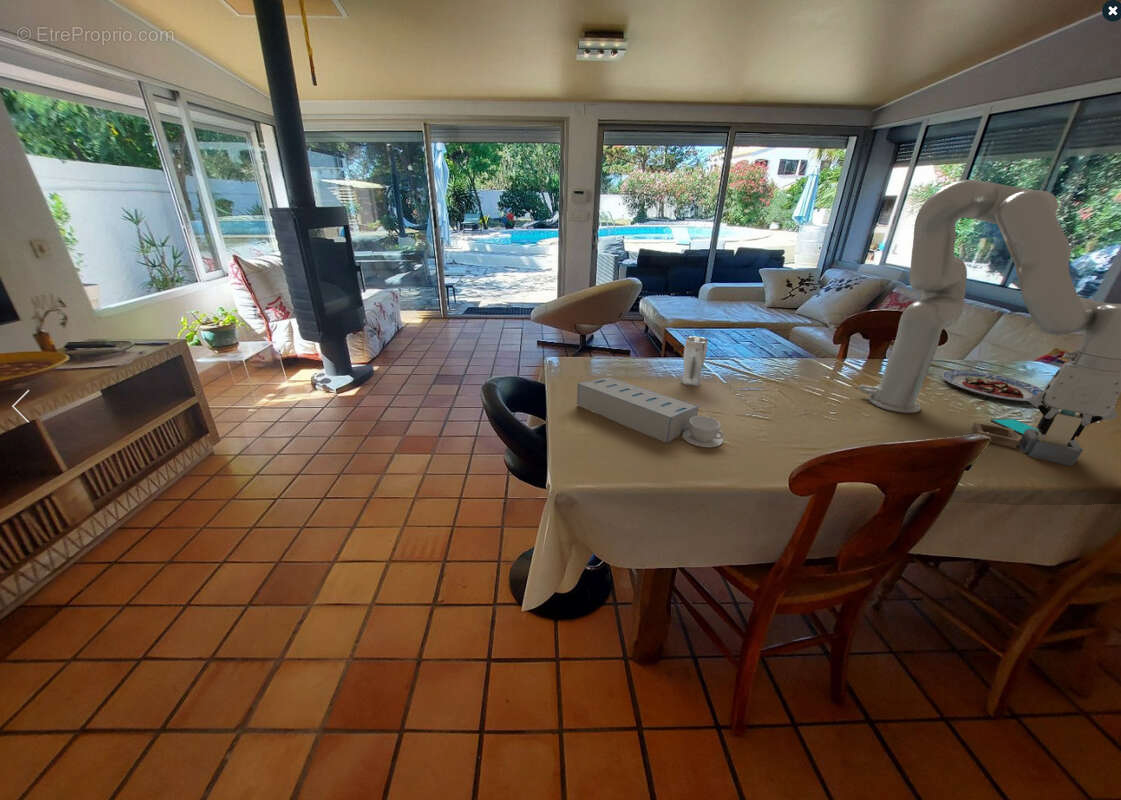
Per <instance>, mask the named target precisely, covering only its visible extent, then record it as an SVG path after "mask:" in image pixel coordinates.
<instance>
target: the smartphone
mask: <svg viewBox="0 0 1121 800" xmlns="http://www.w3.org/2000/svg"><path fill="white" fill-rule="evenodd" d="M990 422H991V423H993V424H995V425H996V426H999V427H1004V428H1009V429H1013V430H1014V432H1015V434H1016V435H1017V434H1018V435H1020V436H1021V437H1022V436H1023V434H1024V432H1025V430H1028V428H1030V429H1035V430H1039V429H1038V428H1037V427H1033V426H1031V425H1029V424H1026V423H1024V422H1022V421H1019V420H1017V419H1015V418H999V419H998V418H996V419H990Z"/></svg>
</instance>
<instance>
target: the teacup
mask: <svg viewBox="0 0 1121 800" xmlns="http://www.w3.org/2000/svg"><path fill="white" fill-rule="evenodd" d="M724 435H725V433H724V431H723V430H721V423H720V421H719V420H717V419H715V418H713V417H710V416H706V415H697V416H694V417H692V418H690V420H689V429H686V430H685V431H683V433H681V436H682V439H684V440H685V441H686V442H687V443H689V444H691V445H694V446H698V447H702V448H716V447H719V446H721V445H722V444H723V443H724V439H723V438H724Z"/></svg>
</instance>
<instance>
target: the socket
mask: <svg viewBox="0 0 1121 800" xmlns="http://www.w3.org/2000/svg"><path fill="white" fill-rule="evenodd" d="M1039 432H1040V431H1039V429H1038V430H1035V429H1030V428H1028V430H1025V432H1024V434H1023V436H1022V435H1021V437H1020V439H1019V443H1018V445H1019V448H1020V449H1021V452H1022V453H1023V454H1026V453H1027V456H1028V457H1029V456H1030V457H1029V458H1034V459H1038V458H1039V459H1038V460H1043V461H1047V462H1052V463H1055V464H1059V465H1064V466H1069V467H1072V466H1073V465H1075V464H1076V462H1077V461H1078V459H1079V457H1080V455H1081V454H1082V453H1083V451H1084V449H1083V447H1082V446H1081V444H1079V442H1078V441H1077V440H1076V439H1074V440H1073V441H1072V440H1070V441H1069V443H1068V445H1067V446H1064V445H1059V444H1055V443H1050V442H1045V441H1041V440H1039V438H1038V437H1037V435H1038V434H1039Z"/></svg>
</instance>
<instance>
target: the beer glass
mask: <svg viewBox="0 0 1121 800" xmlns="http://www.w3.org/2000/svg"><path fill="white" fill-rule="evenodd" d="M685 340H686V341H685V344H684V348H683V349H684V350H683V375H682V376H681V377H682V378H681V380H680V382H681V384H683V385H685V386H687V387H688V386H689V387H698V386H700V385H701V373H702V369H703V366H704V363H705V360H706V357H707V351H708V342H709V340H708V339H707V338H705V337H702V336H688V337H687V338H686V339H685Z"/></svg>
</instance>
